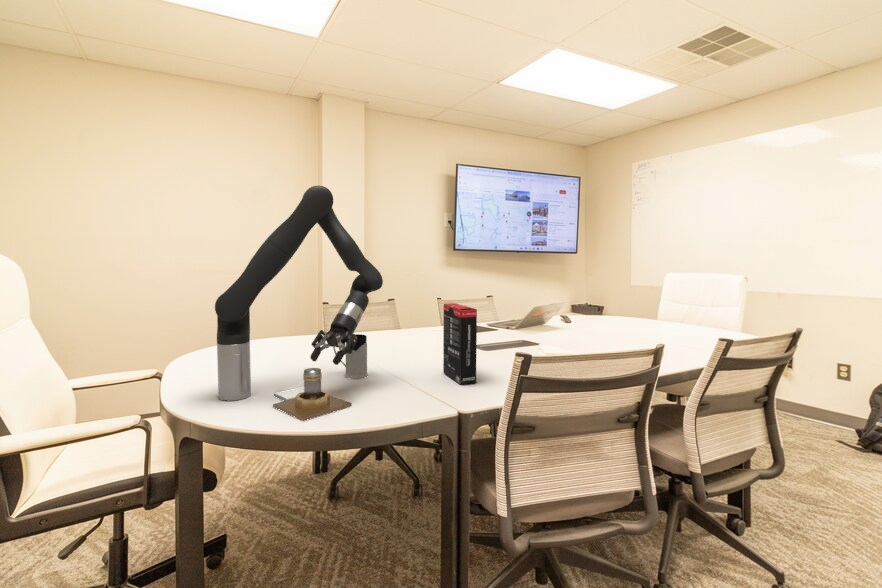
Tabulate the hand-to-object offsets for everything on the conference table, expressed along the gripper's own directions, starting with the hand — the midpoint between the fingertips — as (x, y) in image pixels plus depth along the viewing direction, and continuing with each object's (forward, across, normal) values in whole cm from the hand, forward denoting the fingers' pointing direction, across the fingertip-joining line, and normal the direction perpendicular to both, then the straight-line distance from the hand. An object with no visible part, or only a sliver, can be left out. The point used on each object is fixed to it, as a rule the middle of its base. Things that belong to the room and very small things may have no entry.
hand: (323, 361), depth 130 cm
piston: (+12, 0, +5) cm, 12 cm away
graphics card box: (-22, +26, +39) cm, 52 cm away
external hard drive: (+8, -12, +10) cm, 18 cm away
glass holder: (-11, -12, +29) cm, 33 cm away
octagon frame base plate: (+12, 0, +5) cm, 13 cm away
